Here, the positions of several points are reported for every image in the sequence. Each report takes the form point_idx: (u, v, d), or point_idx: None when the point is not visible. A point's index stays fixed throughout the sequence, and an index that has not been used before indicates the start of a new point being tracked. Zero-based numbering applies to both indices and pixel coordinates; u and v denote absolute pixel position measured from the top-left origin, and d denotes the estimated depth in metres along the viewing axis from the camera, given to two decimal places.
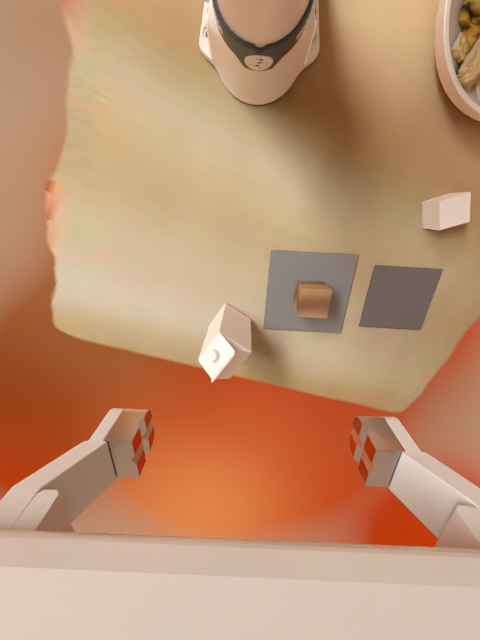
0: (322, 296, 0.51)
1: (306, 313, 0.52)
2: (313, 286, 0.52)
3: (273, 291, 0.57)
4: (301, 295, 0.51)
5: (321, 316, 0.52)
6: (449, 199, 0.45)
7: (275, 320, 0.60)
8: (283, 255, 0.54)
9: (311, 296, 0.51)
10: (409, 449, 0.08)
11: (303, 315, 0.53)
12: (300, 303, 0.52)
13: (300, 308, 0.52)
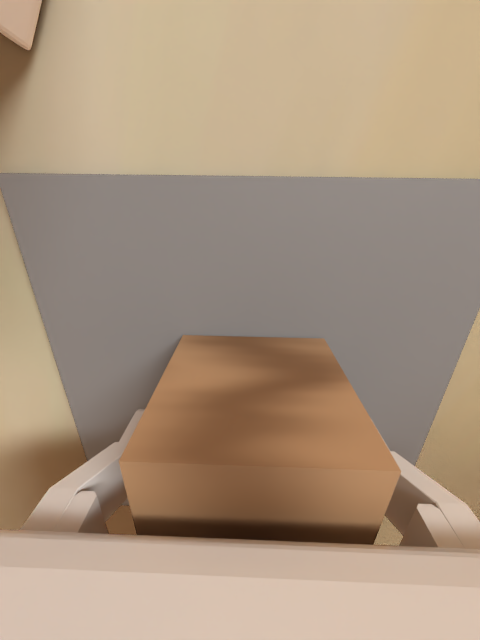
0: None
1: (165, 512, 0.06)
2: None
3: (261, 219, 0.09)
4: (330, 473, 0.06)
5: None
6: None
7: (76, 250, 0.10)
8: (473, 259, 0.10)
9: (314, 527, 0.06)
10: None
11: (142, 497, 0.06)
12: (252, 472, 0.06)
13: (204, 476, 0.06)
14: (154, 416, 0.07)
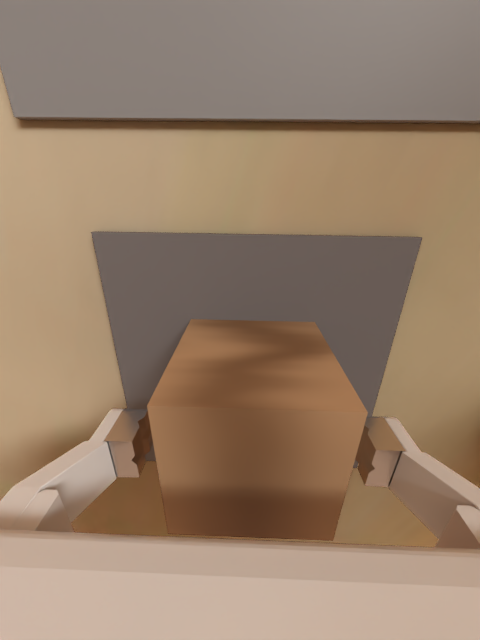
0: (298, 509, 0.09)
1: (181, 451, 0.08)
2: None
3: None
4: (312, 415, 0.07)
5: (175, 514, 0.09)
6: None
7: None
8: None
9: (301, 463, 0.08)
10: (409, 449, 0.08)
11: (164, 438, 0.08)
12: (251, 415, 0.07)
13: (213, 418, 0.07)
14: (171, 377, 0.08)
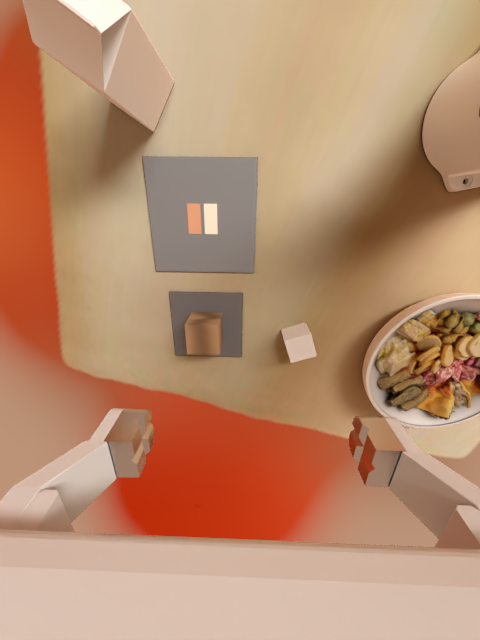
0: (211, 346, 0.47)
1: (190, 333, 0.46)
2: (220, 334, 0.48)
3: (201, 167, 0.41)
4: (210, 326, 0.45)
5: (188, 348, 0.47)
6: (311, 341, 0.47)
7: (158, 175, 0.41)
8: (251, 176, 0.41)
9: (210, 335, 0.46)
10: (409, 449, 0.08)
11: (187, 330, 0.46)
12: (201, 326, 0.45)
13: (195, 326, 0.45)
14: (188, 321, 0.46)
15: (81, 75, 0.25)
